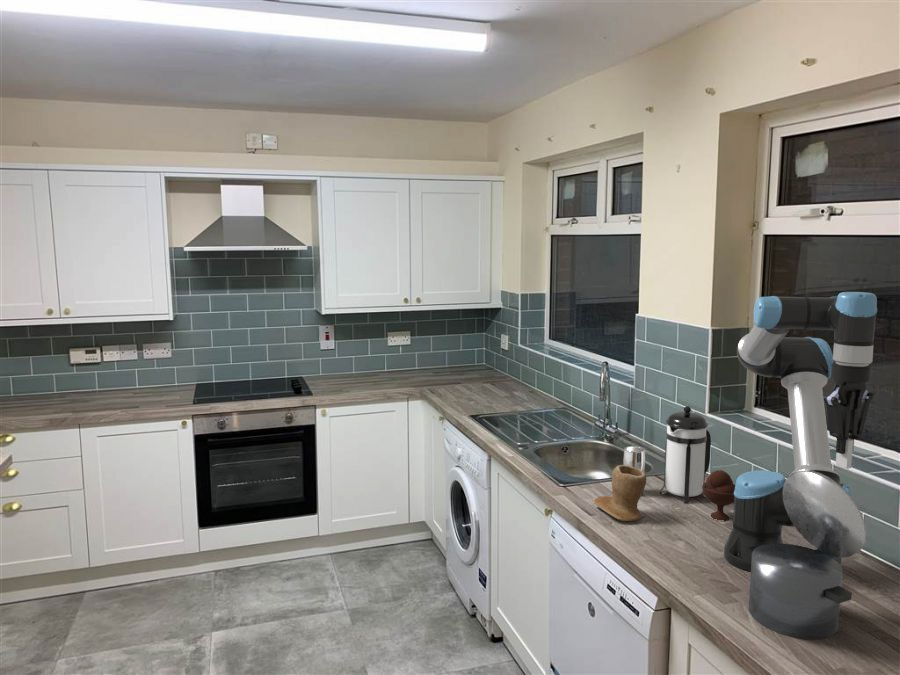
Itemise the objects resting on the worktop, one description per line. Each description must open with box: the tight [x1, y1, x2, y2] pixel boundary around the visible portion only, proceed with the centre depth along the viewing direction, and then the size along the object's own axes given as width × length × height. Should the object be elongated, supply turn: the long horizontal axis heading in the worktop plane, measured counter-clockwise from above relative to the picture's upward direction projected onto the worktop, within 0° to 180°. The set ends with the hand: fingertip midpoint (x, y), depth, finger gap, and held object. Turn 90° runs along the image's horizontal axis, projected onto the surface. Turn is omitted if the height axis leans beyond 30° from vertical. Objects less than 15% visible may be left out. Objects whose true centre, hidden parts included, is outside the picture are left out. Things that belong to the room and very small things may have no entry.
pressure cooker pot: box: [746, 543, 853, 640], centre depth 153 cm, size 20×24×13 cm
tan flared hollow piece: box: [592, 464, 647, 522], centre depth 209 cm, size 15×12×15 cm
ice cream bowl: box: [702, 469, 736, 522], centre depth 206 cm, size 11×11×15 cm
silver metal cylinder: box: [622, 445, 646, 473], centre depth 226 cm, size 7×7×15 cm
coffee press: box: [659, 405, 712, 504], centre depth 224 cm, size 17×16×30 cm
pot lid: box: [783, 470, 867, 559], centre depth 153 cm, size 20×20×3 cm
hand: (843, 466), depth 153 cm, fingers closed
